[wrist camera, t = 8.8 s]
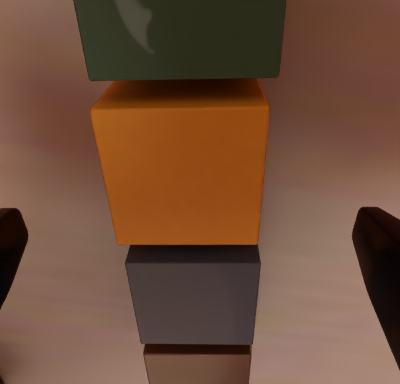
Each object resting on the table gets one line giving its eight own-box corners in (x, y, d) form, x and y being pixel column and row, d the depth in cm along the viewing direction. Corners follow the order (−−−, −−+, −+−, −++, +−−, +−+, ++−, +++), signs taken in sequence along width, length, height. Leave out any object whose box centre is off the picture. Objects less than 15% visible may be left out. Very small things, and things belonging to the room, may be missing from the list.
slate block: (246, 263, 19) (256, 345, 15) (155, 263, 20) (140, 344, 15) (251, 189, 17) (265, 263, 12) (146, 189, 17) (124, 263, 13)
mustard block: (249, 173, 16) (262, 245, 12) (140, 174, 16) (116, 245, 12) (256, 63, 14) (276, 106, 9) (125, 65, 14) (88, 109, 10)
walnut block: (242, 328, 23) (249, 409, 18) (164, 327, 23) (153, 408, 19) (245, 273, 20) (255, 356, 16) (157, 273, 20) (142, 354, 16)
